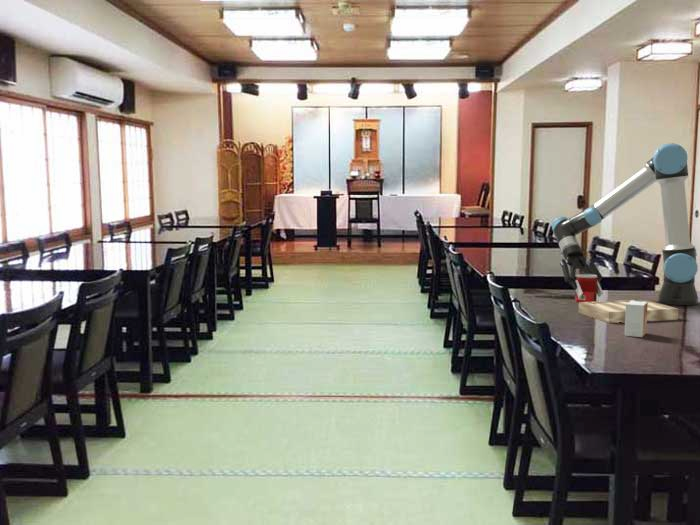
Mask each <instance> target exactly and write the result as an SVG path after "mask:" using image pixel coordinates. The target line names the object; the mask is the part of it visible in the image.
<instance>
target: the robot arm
mask: <svg viewBox="0 0 700 525" xmlns="http://www.w3.org/2000/svg"><path fill="white" fill-rule="evenodd" d="M688 167H689V166H688V153H687V150H686V149H685V148H684V147H683V146H682V145H680V144H677V143H672V142H671V143H669V142H668V143H667V144H666V143H665V144H663V145H661V146H659V147H658V148H657V149H656V150H655V152H654V154H653V157H651V159H649V160H648V161H647V162H645V164H644V166H643V167H642V168H641V169H640V170H638V171H637V172H635V173H634V174H633V175H632V176H630V177H629V178H627V179H626V180H625V181H623V182H622V183H620V184H619V185H618V186H617V187H615V188H613V189H612V190H610V192H608V193H607V194H606V195H604V196H603V197H602V198H600V199H599V200H597V201H596V202H595V203H593V204H591V205H590V206H589V207H588V208H586V209H584V210H582V211H580V212H579V213H576V214H575V215H573V216H572V217H570V218H567V217H566V216H560V217H557V218H555V219H553V221H552V222H551V224H550V225H551V228H552V232H553V235H554V237H555V239H556V241H557V244H558V246H559V249H560V251H561V253H562V257H563V259H561V261H560V263H559V265H560V266H561V269H562V273H563V274H562V275H563V277H564V282H566V283H568V284H569V285H571V286H572V288H573V290H574V291H575V292H576V293H577V295H578V297H581V296H582V294H583V292H582V290H581V287H580V285H579V283H578V280H576V273H577V272H576V270H581V271H582V272H583V273H584V274H594V275H597V277H598V281H597V298H598V297H599V298H600V297H601V296H602V294H603V293H604V292H603V289H602V283H601V282H600V281H601V280H602V279H603V275H602V273H601V272H600V271H599V269H598V267H597V266H596V264H595V262H594V259H593V258H590V259H586V257H585V256H584V252H583V250H582V247H581V245H580V243H579V241H578V238H577V237H576V236H577V235H579V234H581V233H583V232H584V231H587V230H588V229H591V228H593V227H596V226H597V225H598V224H600V223H602V220H605V219H606V218H607V217H608V216H610V215H611V214H612V213H613V212H616V211H617V210H618V209H619V208H621V207H622V206H624V205H626V204H627V203H628V202H629V201H630V200H632V199H634V198H635V197H637V195H640V193H642V192H643V191H645V190H646V189H647V188H649V187H650V186H652V185H653V184H655V183H656V182H657V183H658V184H659V185H660V193H661V194H660V195H661V197H660V198H661V203H662V204H661V205H662V215H663V216H662V217H663V226H664V227H663V228H664V236H665V237H664V238H665V245H664V246H663V248H662V260H663V279H662V280H663V282H662V286H661V287H660V291H659V294H658V296H657V303H660V304H664V305H675V306H696V305H698V304H699V297H698V293H697V289H696V286H695V282H696V281H695V280H696V274H697V272H698V270H699V269H698V267H699V266H698V263H697V255H698V254H697V249H696V247H695V246H696V245H694V244H692V243H691V238H690V226H689V217H688V216H689V215H688V205H687V195H686V194H687V193H686V182H685V181H686V180H687V179H688V178H689V168H688ZM569 266H570V267H569ZM569 268H570V269H569Z"/></svg>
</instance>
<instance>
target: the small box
mask: <svg viewBox="0 0 700 525" xmlns="http://www.w3.org/2000/svg"><path fill="white" fill-rule="evenodd" d="M647 306H648V302H639V301H630V302H629V303H627V304H626V313H625V322H624V336H626V337H635V338H636V337H637V338H643V337H644V336H645V335H646V334H647V324H648V323H647V322H648V321H647Z"/></svg>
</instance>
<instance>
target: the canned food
mask: <svg viewBox="0 0 700 525" xmlns="http://www.w3.org/2000/svg"><path fill="white" fill-rule="evenodd" d="M575 280H578V283H579V285H580V287H581V290H582V292H583V294H582V296H581V297H578V295H577V293H576V291H575V296H574V299H575V300H574V301H575V303H577V304H579V302H597V298H598V295H597V281H598V277H597V275H594V274H586V273H578V274H575Z"/></svg>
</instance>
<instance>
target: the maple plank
mask: <svg viewBox="0 0 700 525" xmlns="http://www.w3.org/2000/svg"><path fill="white" fill-rule="evenodd" d="M630 301H639V302H648V306H647V322H655V321H656V322H658V321H659V322H661V321H678V320H679V310H680V309H679V308H677V307H674V306H669V305H667V304H663V303H660V302H654V301H650V300H647V299H628V300H605V301H604V300H602V301H596V302H579V303H578V313H579V314H581V315H584V316H587V317H589V318H592V317H593V319H595V318H596V319H595V320H598V319H599V320H598V321H601V320H602V321H601V322H604V321H605V323H608V324H618V323H619V322H622V323H625V313H626V304H627V303H629V302H630Z"/></svg>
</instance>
